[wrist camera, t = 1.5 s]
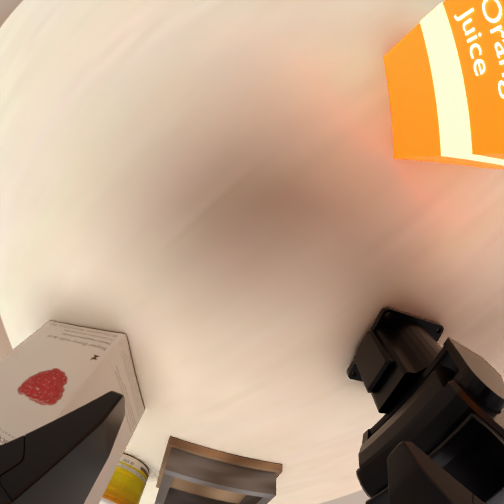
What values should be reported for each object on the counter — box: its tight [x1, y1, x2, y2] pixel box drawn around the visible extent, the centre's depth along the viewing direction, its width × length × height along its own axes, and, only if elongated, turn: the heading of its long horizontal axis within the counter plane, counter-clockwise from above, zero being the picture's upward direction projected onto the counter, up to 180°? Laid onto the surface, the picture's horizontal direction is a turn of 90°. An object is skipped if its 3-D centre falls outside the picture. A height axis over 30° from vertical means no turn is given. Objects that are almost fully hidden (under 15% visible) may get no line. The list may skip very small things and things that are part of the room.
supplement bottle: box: [99, 454, 149, 504], centre depth 22 cm, size 6×6×10 cm
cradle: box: [155, 436, 282, 504], centre depth 24 cm, size 12×12×4 cm
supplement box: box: [0, 321, 144, 504], centre depth 16 cm, size 9×9×15 cm
